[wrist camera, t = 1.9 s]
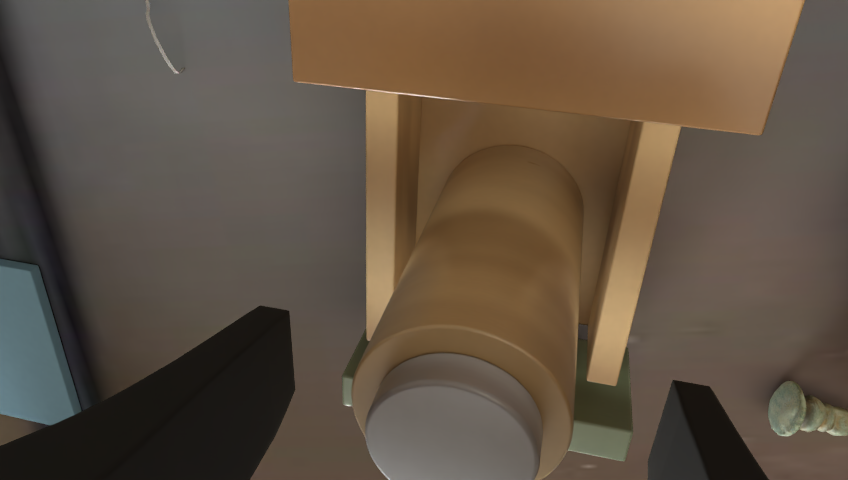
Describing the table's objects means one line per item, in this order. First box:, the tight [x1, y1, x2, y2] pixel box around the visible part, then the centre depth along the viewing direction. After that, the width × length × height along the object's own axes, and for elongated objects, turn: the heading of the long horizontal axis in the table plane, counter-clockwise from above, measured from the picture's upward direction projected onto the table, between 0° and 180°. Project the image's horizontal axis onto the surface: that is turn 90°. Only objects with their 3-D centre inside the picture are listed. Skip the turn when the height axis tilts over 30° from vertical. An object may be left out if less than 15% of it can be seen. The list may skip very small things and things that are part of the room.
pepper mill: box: [351, 145, 584, 480], centre depth 15 cm, size 4×4×9 cm
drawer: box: [342, 90, 681, 461], centre depth 18 cm, size 14×8×4 cm, turn 177°
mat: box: [0, 259, 82, 425], centre depth 29 cm, size 9×4×1 cm, turn 178°
